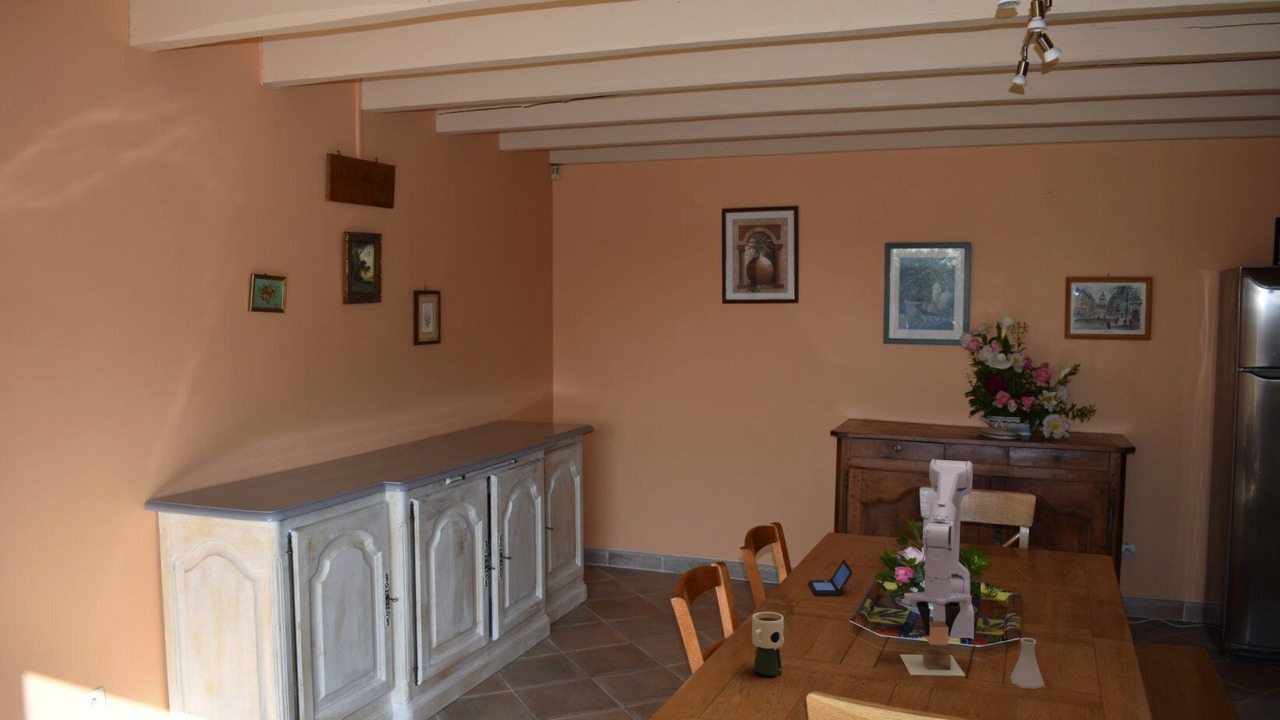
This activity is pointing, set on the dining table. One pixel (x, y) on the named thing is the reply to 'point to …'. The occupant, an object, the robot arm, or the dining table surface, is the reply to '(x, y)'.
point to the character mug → (767, 642)
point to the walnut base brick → (936, 659)
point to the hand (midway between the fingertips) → (937, 634)
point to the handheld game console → (832, 582)
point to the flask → (1027, 667)
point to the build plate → (919, 668)
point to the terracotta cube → (938, 633)
